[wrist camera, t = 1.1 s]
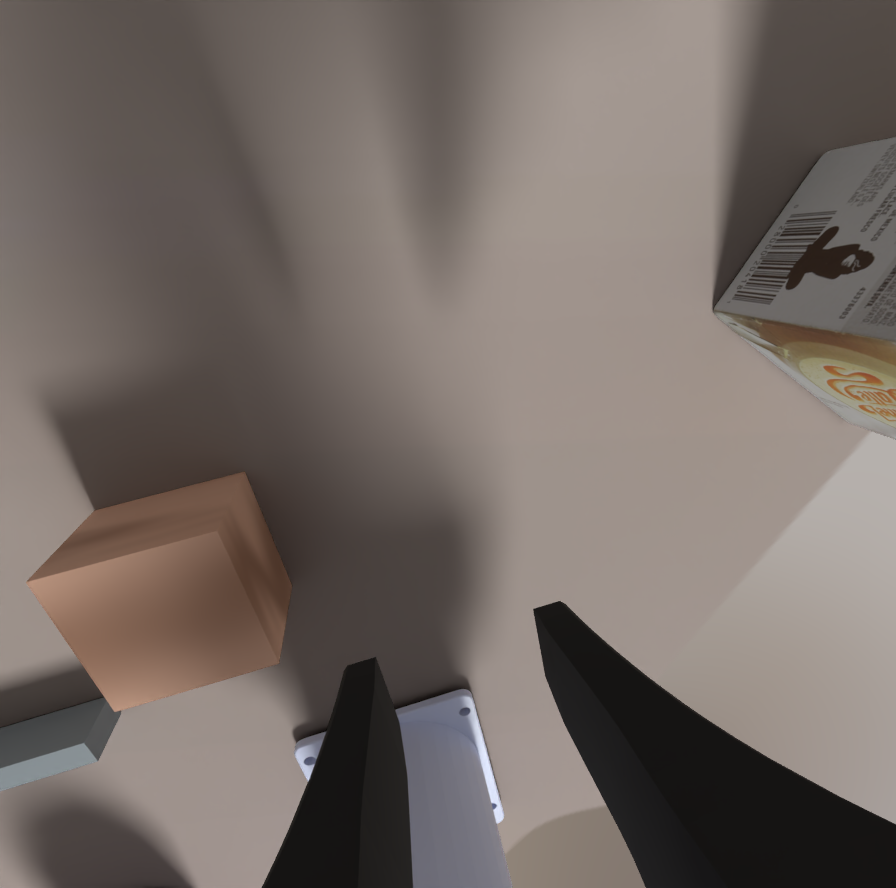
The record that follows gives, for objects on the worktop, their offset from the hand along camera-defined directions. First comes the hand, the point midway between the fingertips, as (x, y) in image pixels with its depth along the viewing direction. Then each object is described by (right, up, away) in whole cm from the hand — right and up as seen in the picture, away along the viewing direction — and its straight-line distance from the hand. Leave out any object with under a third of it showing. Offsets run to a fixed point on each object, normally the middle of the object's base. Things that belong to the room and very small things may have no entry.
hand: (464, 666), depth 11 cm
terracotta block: (-9, +1, +7) cm, 12 cm away
